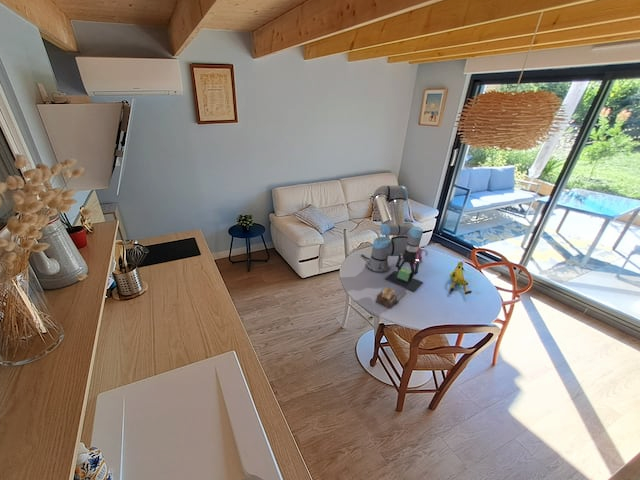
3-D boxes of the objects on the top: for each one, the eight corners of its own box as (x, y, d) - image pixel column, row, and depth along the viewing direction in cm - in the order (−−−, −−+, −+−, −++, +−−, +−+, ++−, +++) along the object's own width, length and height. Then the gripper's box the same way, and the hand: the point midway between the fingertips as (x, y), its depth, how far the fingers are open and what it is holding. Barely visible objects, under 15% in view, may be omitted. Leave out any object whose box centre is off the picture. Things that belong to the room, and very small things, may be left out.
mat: (385, 279, 198) (385, 278, 198) (394, 271, 207) (394, 270, 207) (413, 291, 186) (413, 290, 186) (422, 282, 195) (422, 282, 194)
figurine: (464, 282, 177) (462, 256, 199) (446, 288, 184) (446, 262, 206) (474, 295, 179) (471, 267, 200) (456, 300, 186) (455, 273, 208)
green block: (397, 277, 195) (398, 270, 192) (401, 273, 199) (403, 266, 196) (407, 281, 191) (409, 274, 188) (411, 277, 195) (413, 270, 192)
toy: (398, 251, 234) (406, 217, 219) (427, 264, 215) (438, 228, 200) (391, 254, 230) (399, 219, 215) (421, 268, 211) (431, 231, 196)
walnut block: (376, 301, 178) (377, 296, 176) (383, 295, 183) (384, 290, 181) (389, 308, 172) (390, 302, 170) (396, 301, 178) (397, 296, 176)
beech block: (381, 296, 176) (382, 290, 173) (385, 292, 179) (386, 287, 176) (389, 300, 173) (390, 294, 170) (393, 296, 176) (394, 290, 173)
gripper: (394, 246, 188) (387, 275, 200) (424, 257, 176) (416, 287, 187) (399, 243, 193) (392, 271, 204) (429, 253, 180) (420, 282, 192)
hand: (404, 278), depth 196 cm, fingers closed on green block, 7 cm apart
